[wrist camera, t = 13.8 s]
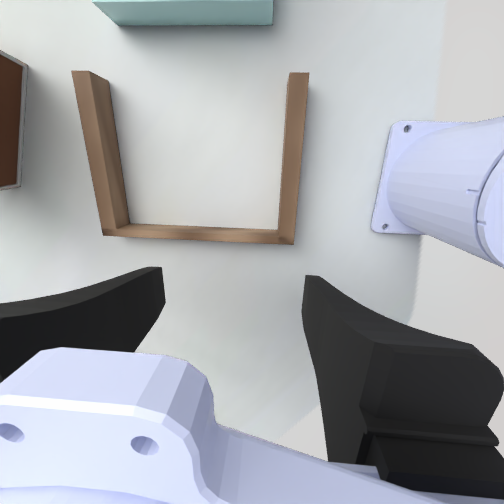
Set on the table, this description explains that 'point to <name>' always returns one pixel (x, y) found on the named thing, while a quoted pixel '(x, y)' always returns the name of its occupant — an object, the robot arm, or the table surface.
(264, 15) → the tray
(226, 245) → the table surface
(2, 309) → the robot arm
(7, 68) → the food container
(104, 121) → the frame
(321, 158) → the table surface
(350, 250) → the table surface
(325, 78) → the table surface
